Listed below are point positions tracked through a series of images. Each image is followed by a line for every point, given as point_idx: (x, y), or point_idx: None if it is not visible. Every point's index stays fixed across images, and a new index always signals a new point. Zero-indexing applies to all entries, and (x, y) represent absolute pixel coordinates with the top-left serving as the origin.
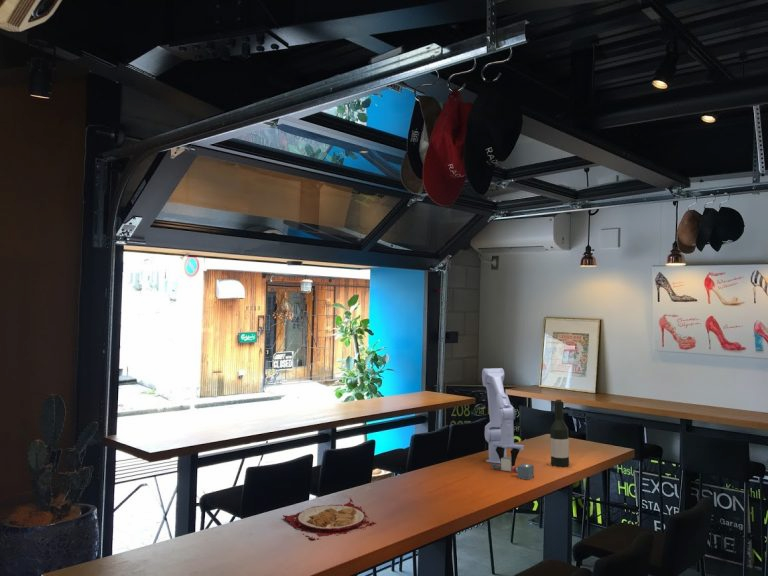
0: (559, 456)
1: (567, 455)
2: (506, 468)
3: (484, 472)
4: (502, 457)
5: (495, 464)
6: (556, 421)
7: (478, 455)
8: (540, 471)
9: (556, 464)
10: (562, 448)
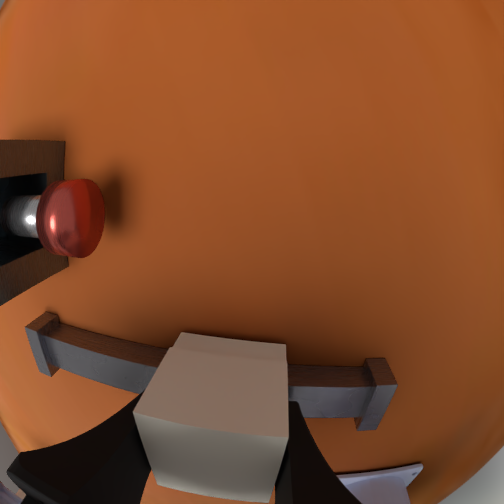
0: None
1: None
2: (223, 352)
3: (431, 207)
4: (282, 473)
5: (361, 413)
6: None
7: (438, 497)
8: (51, 389)
9: None
10: None
